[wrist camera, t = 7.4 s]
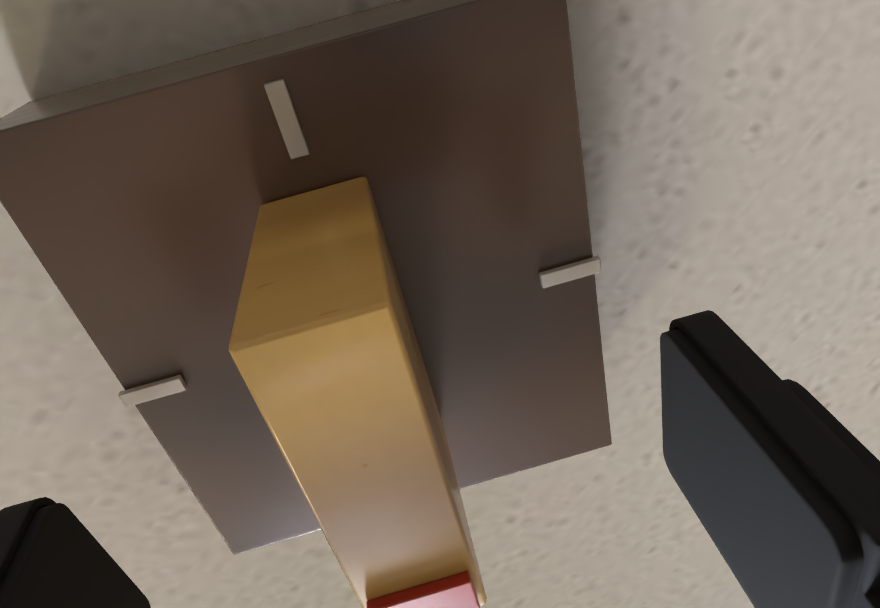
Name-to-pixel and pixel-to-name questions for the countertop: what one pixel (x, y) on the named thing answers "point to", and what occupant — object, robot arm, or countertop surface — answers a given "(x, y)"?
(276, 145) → the tap deck
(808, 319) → the countertop surface
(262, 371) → the tap handle
